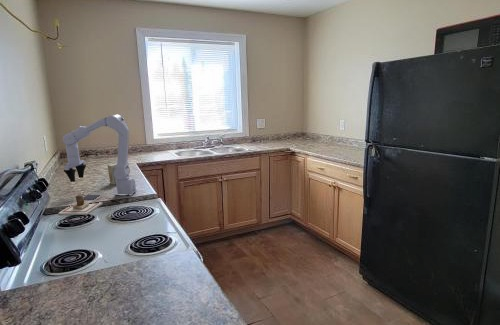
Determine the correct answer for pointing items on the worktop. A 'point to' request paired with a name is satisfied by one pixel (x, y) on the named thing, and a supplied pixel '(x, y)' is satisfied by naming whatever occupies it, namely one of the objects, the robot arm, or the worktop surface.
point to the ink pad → (91, 197)
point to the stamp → (80, 203)
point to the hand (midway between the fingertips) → (77, 179)
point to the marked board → (80, 211)
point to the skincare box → (112, 173)
